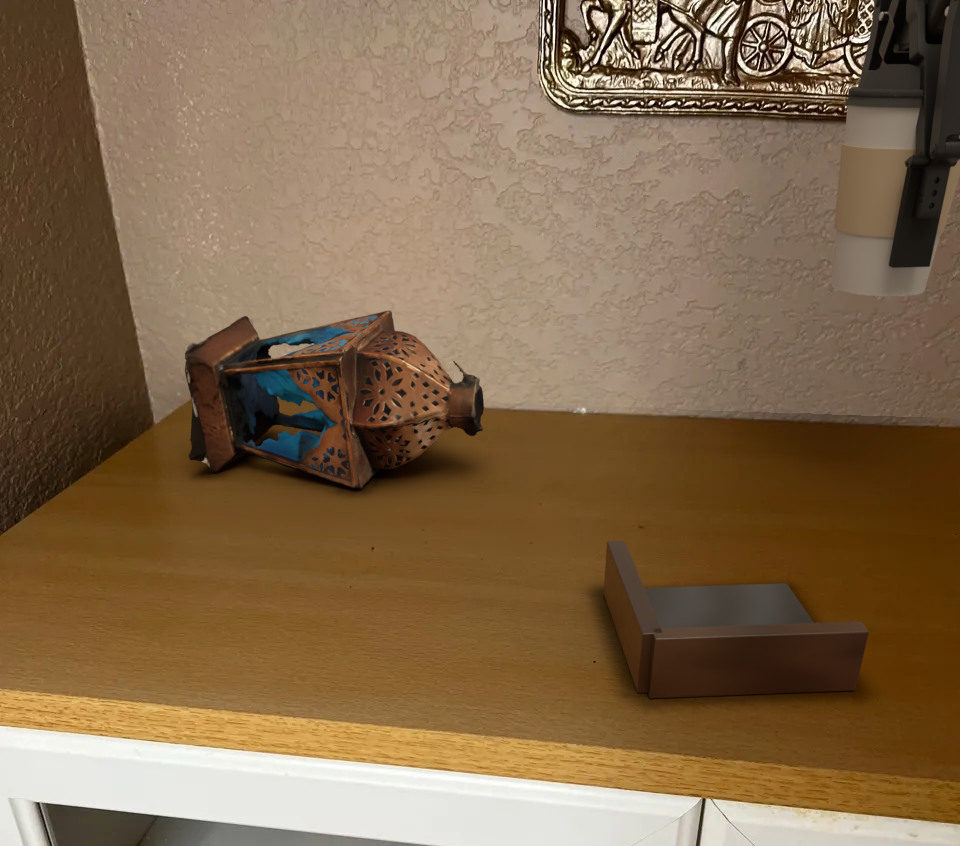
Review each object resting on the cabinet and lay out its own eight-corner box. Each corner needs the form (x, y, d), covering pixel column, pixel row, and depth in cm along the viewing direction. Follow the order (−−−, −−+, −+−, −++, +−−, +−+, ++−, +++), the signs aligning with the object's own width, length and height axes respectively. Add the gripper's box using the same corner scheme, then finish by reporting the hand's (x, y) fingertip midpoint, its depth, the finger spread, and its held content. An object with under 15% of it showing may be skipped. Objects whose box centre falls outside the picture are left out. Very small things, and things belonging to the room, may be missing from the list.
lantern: (233, 520, 93) (488, 532, 87) (143, 431, 78) (444, 439, 72) (269, 372, 98) (514, 374, 92) (191, 261, 83) (477, 255, 77)
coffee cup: (851, 271, 81) (888, 61, 74) (960, 286, 76) (1012, 61, 68) (794, 288, 76) (827, 64, 68) (906, 305, 71) (956, 64, 63)
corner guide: (785, 588, 67) (794, 535, 65) (856, 691, 56) (869, 631, 54) (603, 594, 67) (606, 540, 65) (639, 699, 56) (644, 639, 54)
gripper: (836, -96, 72) (790, 233, 84) (975, -145, 54) (891, 284, 66) (936, -97, 72) (876, 231, 84) (1108, -146, 54) (1001, 281, 66)
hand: (883, 254), depth 75 cm, fingers closed on coffee cup, 9 cm apart
